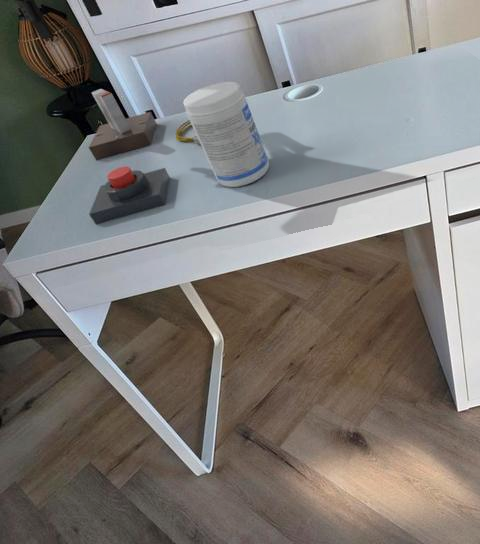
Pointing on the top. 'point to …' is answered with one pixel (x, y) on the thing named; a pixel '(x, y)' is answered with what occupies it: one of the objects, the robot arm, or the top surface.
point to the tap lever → (111, 110)
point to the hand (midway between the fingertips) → (73, 26)
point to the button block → (131, 196)
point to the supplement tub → (227, 133)
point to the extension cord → (194, 139)
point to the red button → (121, 177)
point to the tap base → (123, 137)
